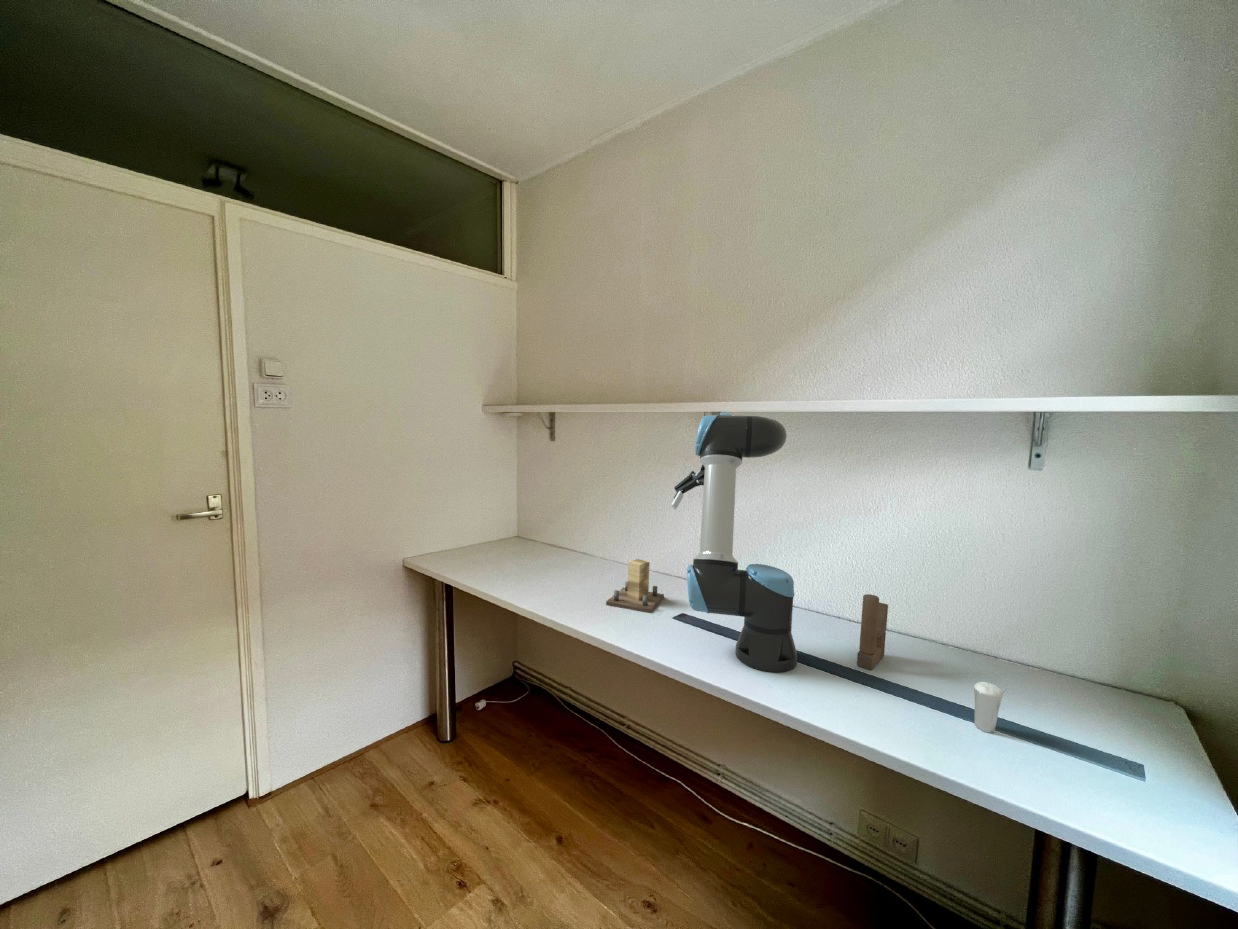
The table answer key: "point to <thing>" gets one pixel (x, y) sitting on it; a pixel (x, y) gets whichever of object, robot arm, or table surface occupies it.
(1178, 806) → the table surface
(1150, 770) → the table surface
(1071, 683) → the table surface
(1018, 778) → the table surface
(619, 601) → the peg plate
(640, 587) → the oak post
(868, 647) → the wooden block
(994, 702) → the milkshake
